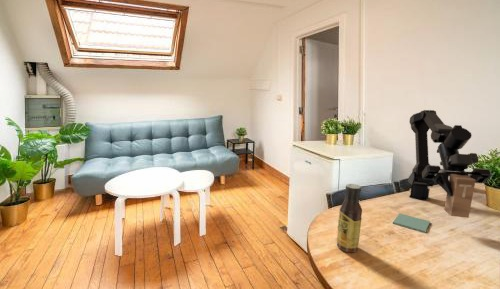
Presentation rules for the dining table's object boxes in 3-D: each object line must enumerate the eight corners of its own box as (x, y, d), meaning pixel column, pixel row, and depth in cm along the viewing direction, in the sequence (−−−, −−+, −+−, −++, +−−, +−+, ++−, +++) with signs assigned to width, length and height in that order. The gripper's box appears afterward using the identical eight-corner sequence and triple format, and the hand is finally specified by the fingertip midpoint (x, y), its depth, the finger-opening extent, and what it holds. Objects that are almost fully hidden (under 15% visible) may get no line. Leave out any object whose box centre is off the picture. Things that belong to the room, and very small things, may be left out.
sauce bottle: (333, 242, 82) (337, 181, 79) (352, 241, 83) (357, 181, 79) (342, 254, 76) (347, 189, 72) (362, 253, 76) (368, 188, 73)
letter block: (444, 209, 92) (450, 174, 90) (460, 211, 91) (467, 175, 88) (451, 215, 87) (457, 178, 85) (468, 218, 86) (475, 180, 84)
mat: (392, 223, 95) (392, 221, 95) (399, 214, 103) (399, 213, 103) (425, 232, 89) (425, 231, 89) (429, 222, 96) (430, 221, 96)
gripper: (429, 142, 91) (438, 182, 82) (493, 145, 86) (510, 188, 78) (418, 159, 100) (425, 197, 91) (476, 163, 95) (489, 203, 87)
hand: (461, 196), depth 86 cm, fingers closed on letter block, 5 cm apart
